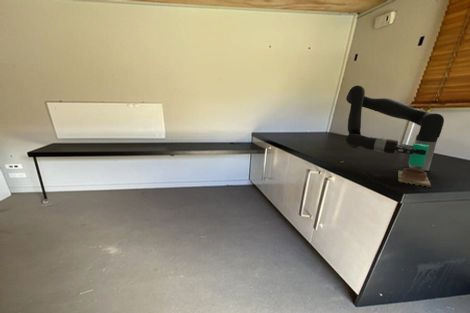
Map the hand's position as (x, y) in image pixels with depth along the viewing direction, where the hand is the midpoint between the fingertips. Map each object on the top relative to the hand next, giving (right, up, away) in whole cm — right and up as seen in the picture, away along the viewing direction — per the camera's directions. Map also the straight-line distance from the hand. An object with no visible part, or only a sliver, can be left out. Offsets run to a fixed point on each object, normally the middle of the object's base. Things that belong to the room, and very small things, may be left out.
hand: (426, 151), depth 101 cm
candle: (-2, -7, +4) cm, 8 cm away
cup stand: (-2, -14, +6) cm, 15 cm away
